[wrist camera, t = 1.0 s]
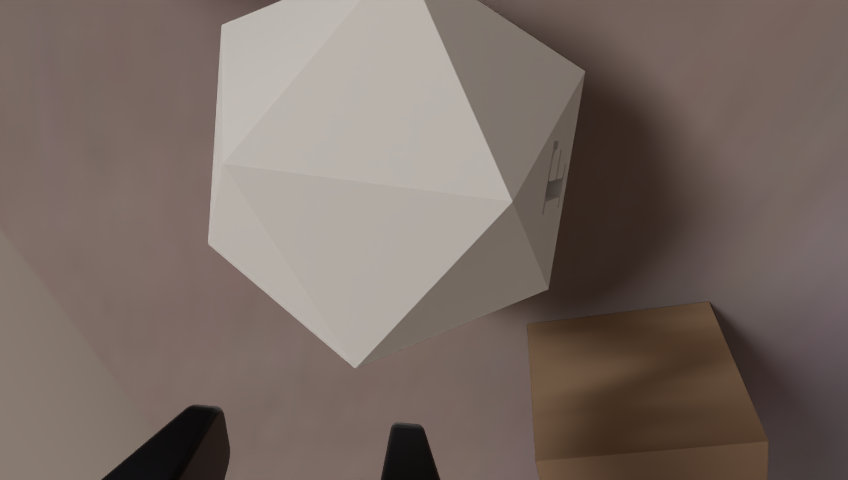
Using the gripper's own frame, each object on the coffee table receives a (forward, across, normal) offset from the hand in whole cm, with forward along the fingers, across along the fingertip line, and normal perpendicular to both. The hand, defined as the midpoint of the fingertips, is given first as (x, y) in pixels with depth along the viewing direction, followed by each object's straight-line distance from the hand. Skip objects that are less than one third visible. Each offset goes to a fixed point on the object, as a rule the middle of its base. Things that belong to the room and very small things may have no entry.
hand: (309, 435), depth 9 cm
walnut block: (+13, -8, +10) cm, 18 cm away
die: (+13, 0, 0) cm, 13 cm away
